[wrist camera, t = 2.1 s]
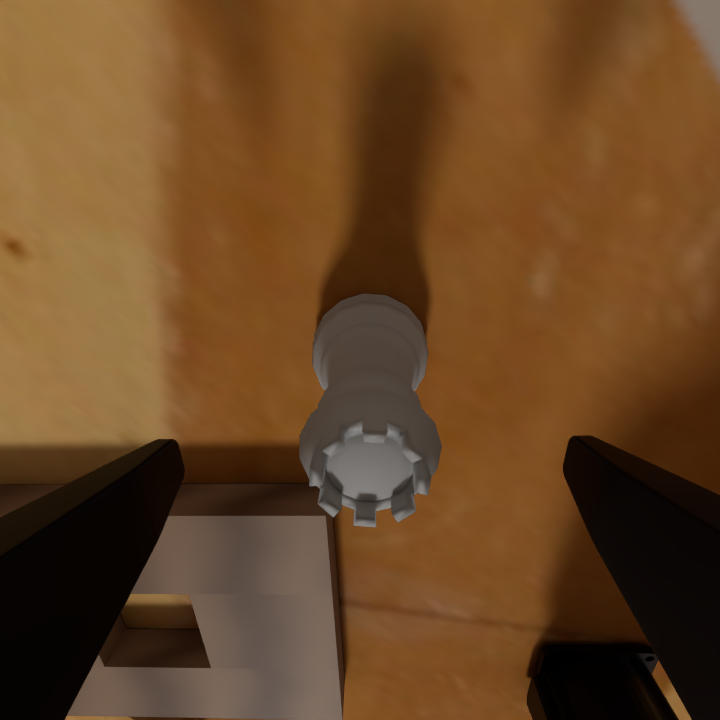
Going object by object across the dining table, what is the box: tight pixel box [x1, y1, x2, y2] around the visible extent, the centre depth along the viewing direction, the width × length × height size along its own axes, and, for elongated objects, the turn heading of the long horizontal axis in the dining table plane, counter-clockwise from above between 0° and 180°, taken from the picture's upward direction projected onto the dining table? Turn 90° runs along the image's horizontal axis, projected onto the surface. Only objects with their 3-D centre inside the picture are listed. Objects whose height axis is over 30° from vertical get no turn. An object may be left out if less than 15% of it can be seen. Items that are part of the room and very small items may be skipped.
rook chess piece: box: [299, 294, 442, 527], centre depth 11 cm, size 4×4×8 cm
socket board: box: [0, 484, 345, 720], centre depth 20 cm, size 20×16×2 cm
